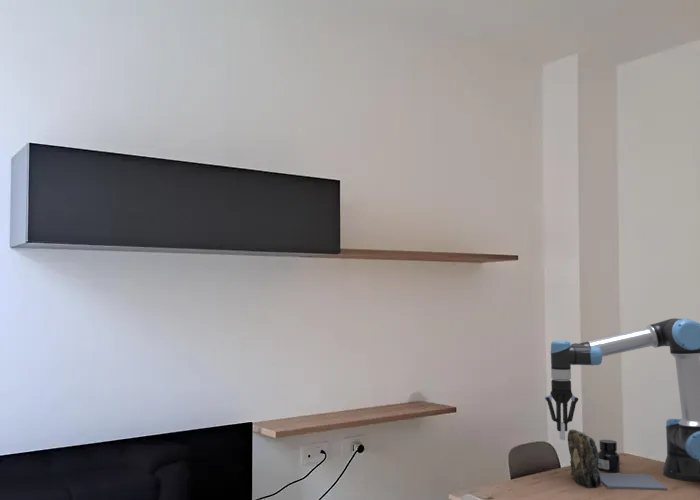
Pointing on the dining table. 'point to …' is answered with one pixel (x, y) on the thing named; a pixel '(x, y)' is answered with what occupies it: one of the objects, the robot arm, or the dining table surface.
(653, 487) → the rubber mat
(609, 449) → the ink bottle
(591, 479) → the stone block
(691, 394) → the robot arm
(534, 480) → the dining table surface
